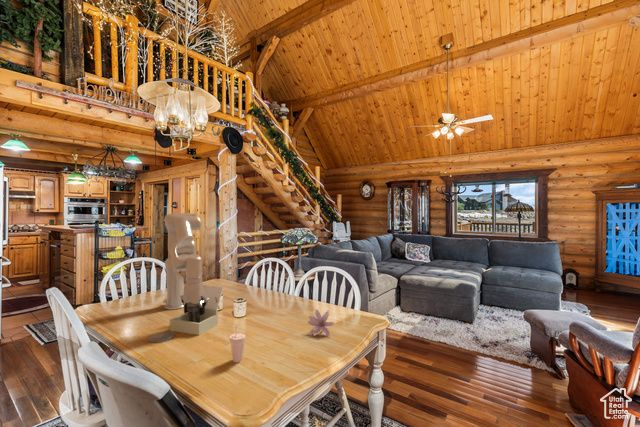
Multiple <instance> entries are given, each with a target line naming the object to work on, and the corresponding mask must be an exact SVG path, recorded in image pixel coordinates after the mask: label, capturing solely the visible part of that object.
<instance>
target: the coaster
mask: <svg viewBox="0 0 640 427" xmlns="http://www.w3.org/2000/svg"><path fill="white" fill-rule="evenodd" d="M174 337H175V332H174V331H161V332H157V333H154V334H151V335H150V336H149V337H148V342H149V343H152V342H155V343H154V344H158V343H157V342H160V343H163V342H164V341H165V342H168V341H170V340H172V339H174ZM167 340H168V341H167Z"/></svg>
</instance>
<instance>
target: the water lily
mask: <svg viewBox="0 0 640 427" xmlns="http://www.w3.org/2000/svg"><path fill="white" fill-rule="evenodd" d="M314 313H315V316H313V315H309V316H308V319H309V321H307V324H308V325H310V326H312V327H313V326H314V327H313V328H312V329H311V330H310V331H309V334H308V336H312V335H313V336H317V335H318V334H319V333H320V332H322V333H323V334H324V336H325V337H327V338H331V335H330V332H329V329H328V327H332V326H333V325H335V323H334V322H333V321H328V318H329V316H330V312H329V310H326V311H325V312H324V314H322V315H321V313H320V311H319V310H318V309H315V312H314Z"/></svg>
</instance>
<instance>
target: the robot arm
mask: <svg viewBox="0 0 640 427" xmlns="http://www.w3.org/2000/svg"><path fill="white" fill-rule="evenodd" d="M201 220H202V219H201V218H200V217H199V216H198V215H197V214H195V213H188V212H187V213H186V212H185V213H180V212H179V213H178V212H177V213H176V212H175V213H168V214H166V215H165V216H164V225H165V228H166V230H167V251H168V254H170V257H168V258H165V259H166V260H165V261H164V265H165V266H164V267H165V271H166V298H165V299H163V303H165V304H164V307H163V308H164V309H165V310H171V311H172V310H179V309H182V308H183V314H184V313H187V312H188V310H187V303H189V302H191V303H193V304H199V306H200V308H199V315H203V314H204V313H205V306H206V304H207V303H208V300H209V298H207V297H206V296H205V295H204V287H203V285H204V283H203V259H202V257H201V256H200V255H199V254H197V250H196V247H197V246H196V242H195V240H194V233H193V231H199V230H201V228H202V221H201ZM184 271H185V275H186V276H185V278H184V276H183V275H182V274H181V273H180V272H184ZM184 281H185V283H184ZM204 300H205V301H204ZM201 303H202V304H201Z"/></svg>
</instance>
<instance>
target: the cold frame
mask: <svg viewBox="0 0 640 427" xmlns="http://www.w3.org/2000/svg"><path fill="white" fill-rule="evenodd" d="M203 287H204V295H205V296H206V297H207V298H209V300H208V303H207V304H206V306H205V313H204V314H203V315H200V323H196V322H189V317H188V312H187V313H184V312H183V313H182V314H180V315H177V316H175V317H173V318H170V320H169V332H178V333H183V334H189V335H195V336H200V335H202V334H204V333H206V332H209V330H211V329H213V328H214V327H216V326H218V325H219V324H218V323H219V322H218V320H219V318H218V315H219V313H218V311H219V310H220V308H221V307H220V302H221V298H222V293H223V290H224V287H223V286H214V285H206V284H205V285H204V284H203ZM204 301H205V300H204ZM201 304H202V303H201Z"/></svg>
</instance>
